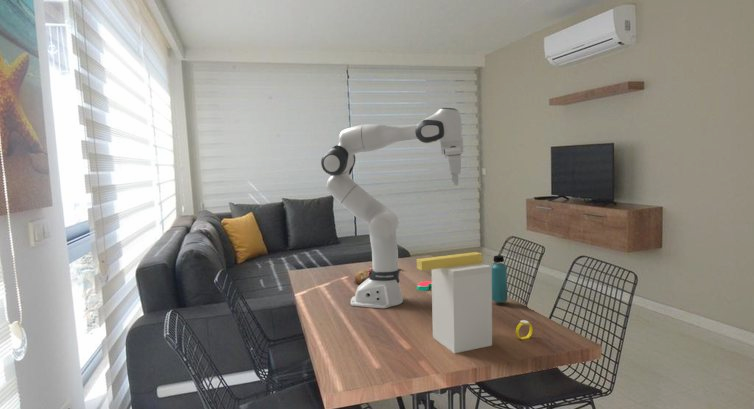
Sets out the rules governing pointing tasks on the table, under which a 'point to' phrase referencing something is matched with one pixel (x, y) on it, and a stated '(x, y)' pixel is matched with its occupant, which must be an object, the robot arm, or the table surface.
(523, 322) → the gold ring
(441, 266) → the mustard bar
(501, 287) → the beverage bottle
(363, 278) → the bread roll
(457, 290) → the off-white stand
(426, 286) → the pink curvy flat shape
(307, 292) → the table surface
